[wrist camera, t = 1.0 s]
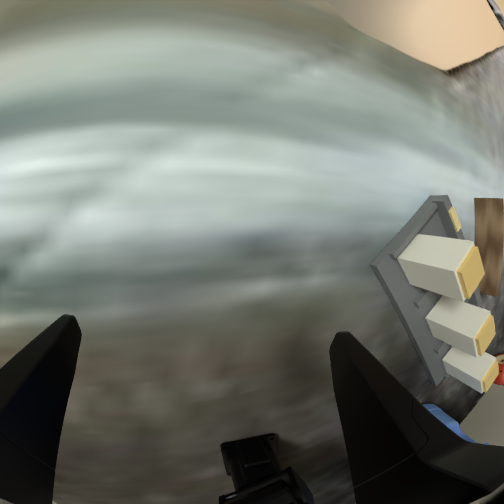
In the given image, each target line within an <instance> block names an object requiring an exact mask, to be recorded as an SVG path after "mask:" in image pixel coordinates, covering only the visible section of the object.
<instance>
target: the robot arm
mask: <svg viewBox="0 0 504 504" xmlns="http://www.w3.org/2000/svg"><path fill="white" fill-rule="evenodd" d="M81 336H82V334H81V330H80V327H79V325H78V322H77V320H76V318H75V316H73V315H68V314H64V315H62V316H61V317H60V318H58V319H57V320H56V321H55V322H54V323H52V324H51V325H50V326H49V327H48V328H46V329H45V330H44V331H43V332H42V333H40V334H39V335H38V336H37V337H36V338H34V339H33V340H32V341H31V342H30V343H29V344H27V345H26V346H25V347H24V348H23V349H22V350H21V351H19V352H18V353H17V354H16V355H15V356H14V357H13V358H12V359H10V360H9V361H8V362H7V363H6V364H5V365H4V366H3V367H2V368H1V369H0V504H52V499H53V487H54V477H55V468H56V461H57V454H58V447H59V442H60V436H61V431H62V425H63V421H64V416H65V411H66V407H67V402H68V398H69V394H70V390H71V386H72V382H73V379H74V375H75V369H76V364H77V358H78V352H79V347H80V342H81ZM329 353H330V361H331V370H332V379H333V387H334V393H335V398H336V402H337V407H338V411H339V416H340V421H341V425H342V430H343V435H344V440H345V445H346V450H347V455H348V460H349V465H350V470H351V476H352V481H353V487H354V493H355V499H356V504H504V447H503V446H494V445H486V444H479V443H473V442H469V441H467V440H464V439H463V438H461V437H460V436H458V435H457V434H456V433H455V432H453V431H452V430H451V429H450V428H449V427H447V426H446V425H445V424H444V423H442V422H441V421H440V420H439V419H438V418H436V417H435V416H434V415H433V414H432V413H431V412H430V411H428V410H427V409H426V408H425V407H424V406H423V405H422V404H421V403H420V402H419V401H418V400H417V399H416V398H415V397H413V395H412V394H411V393H410V392H409V391H408V390H407V389H406V388H405V387H404V386H403V385H402V384H401V383H400V382H399V381H398V380H397V379H396V378H395V377H394V376H393V375H392V374H391V373H390V372H389V371H388V370H387V369H386V368H385V367H384V366H383V365H382V364H381V363H380V362H379V361H378V360H377V359H376V358H375V357H374V356H373V355H372V354H371V353H370V352H369V351H368V350H367V349H366V348H365V347H364V346H363V345H362V344H361V343H360V342H359V341H358V340H357V339H356V338H355V337H354V336H353V335H352V334H351V333H350V332H348V331H343V332H337V333H336V335H335V337H334V339H333V341H332V344H331V346H330V350H329ZM271 437H272V438H271ZM220 447H221V452H222V456H223V460H224V465H225V469H226V473H227V475H228V476H231V477H232V480H233V484H234V487H235V492H232V493H230V494H227V495H222V496H219V504H314V500H313V495H312V493H311V492H310V490H309V488H308V487H307V485H306V484H305V482H304V481H303V480H302V479H301V477H300V476H299V475H298V474H297V473H296V472H295V471H294V470H293V469H292V467H291V466H290V467H288V468H286V469H285V470H282V468H281V466H280V464H279V462H278V460H277V448H276V436H275V434H268V435H263V436H259V437H254V438H249V439H244V440H239V441H233V442H227V443H222V444H221V445H220Z"/></svg>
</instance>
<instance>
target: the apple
mask: <svg viewBox="0 0 504 504" xmlns="http://www.w3.org/2000/svg"><path fill="white" fill-rule="evenodd" d="M494 357H496V361H498V367H499V374H498V376H497V377H496V379H495V380H494V382H493V383H495V384H497V385H504V353H503V354H499V355H496V356H494Z"/></svg>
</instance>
